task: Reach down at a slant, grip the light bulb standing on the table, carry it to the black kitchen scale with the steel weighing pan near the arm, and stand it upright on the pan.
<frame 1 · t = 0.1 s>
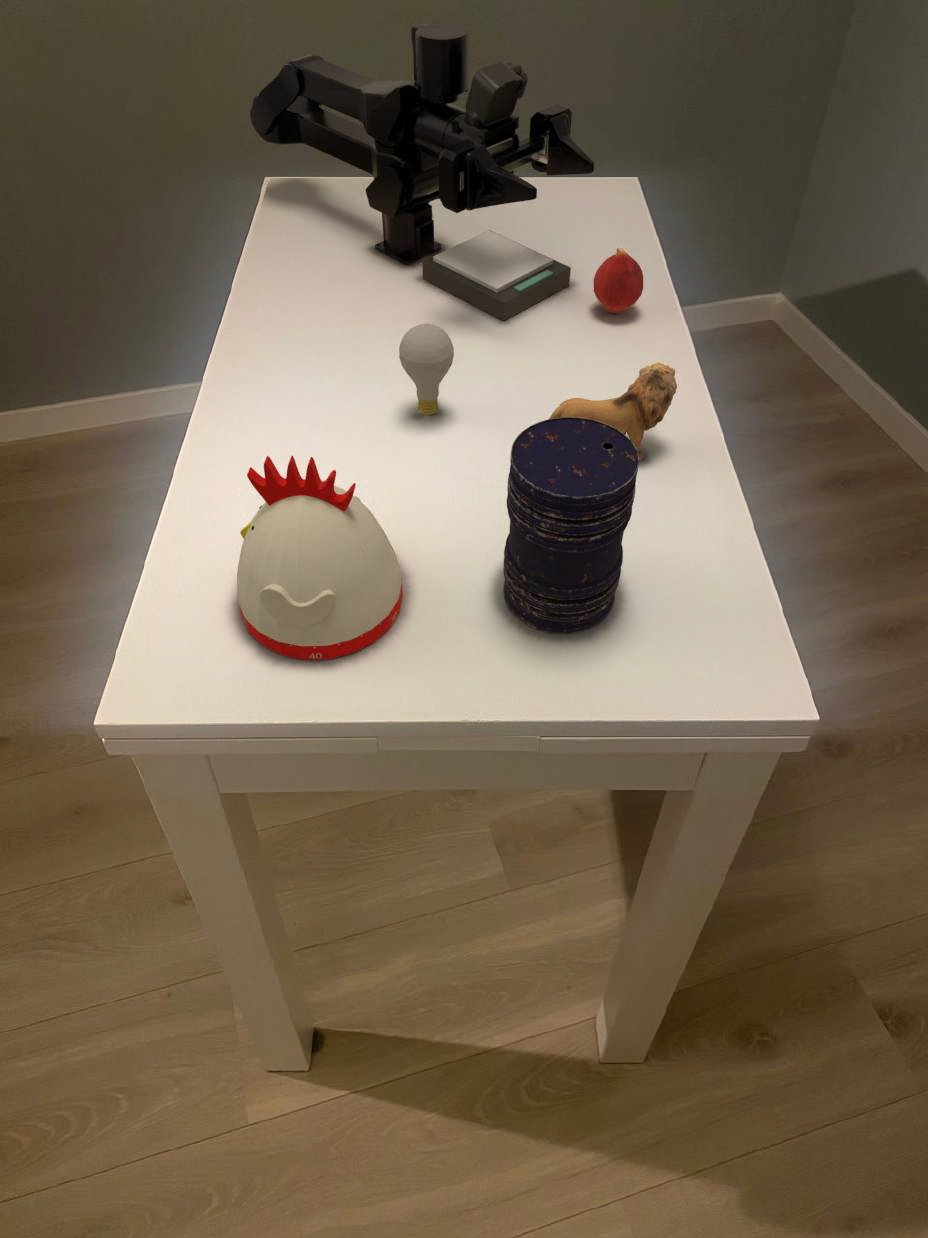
hand: (565, 180, 98), 17 cm above the table, tool horizontal, fingers open, 9 cm apart
rusty blue oil drum: (558, 594, 81), on the table
kitchen timer: (322, 599, 81), on the table
light bulb: (428, 414, 99), on the table
lion figurine: (601, 452, 95), on the table
kitchen scale: (495, 282, 117), on the table
onion: (614, 313, 113), on the table
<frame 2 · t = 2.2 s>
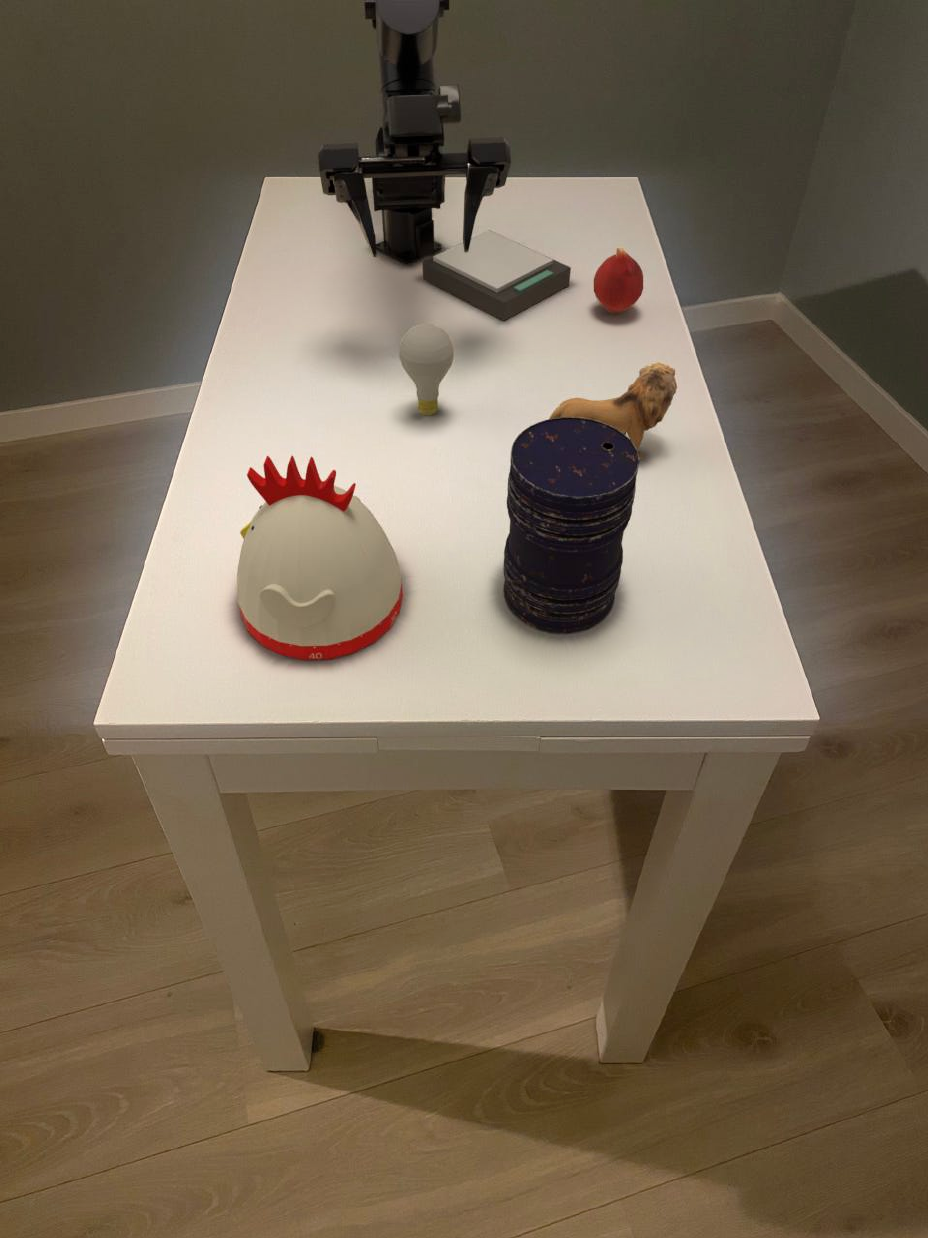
hand: (421, 253, 93), 14 cm above the table, tool tilted 45°, fingers open, 9 cm apart
nothing on the table moved.
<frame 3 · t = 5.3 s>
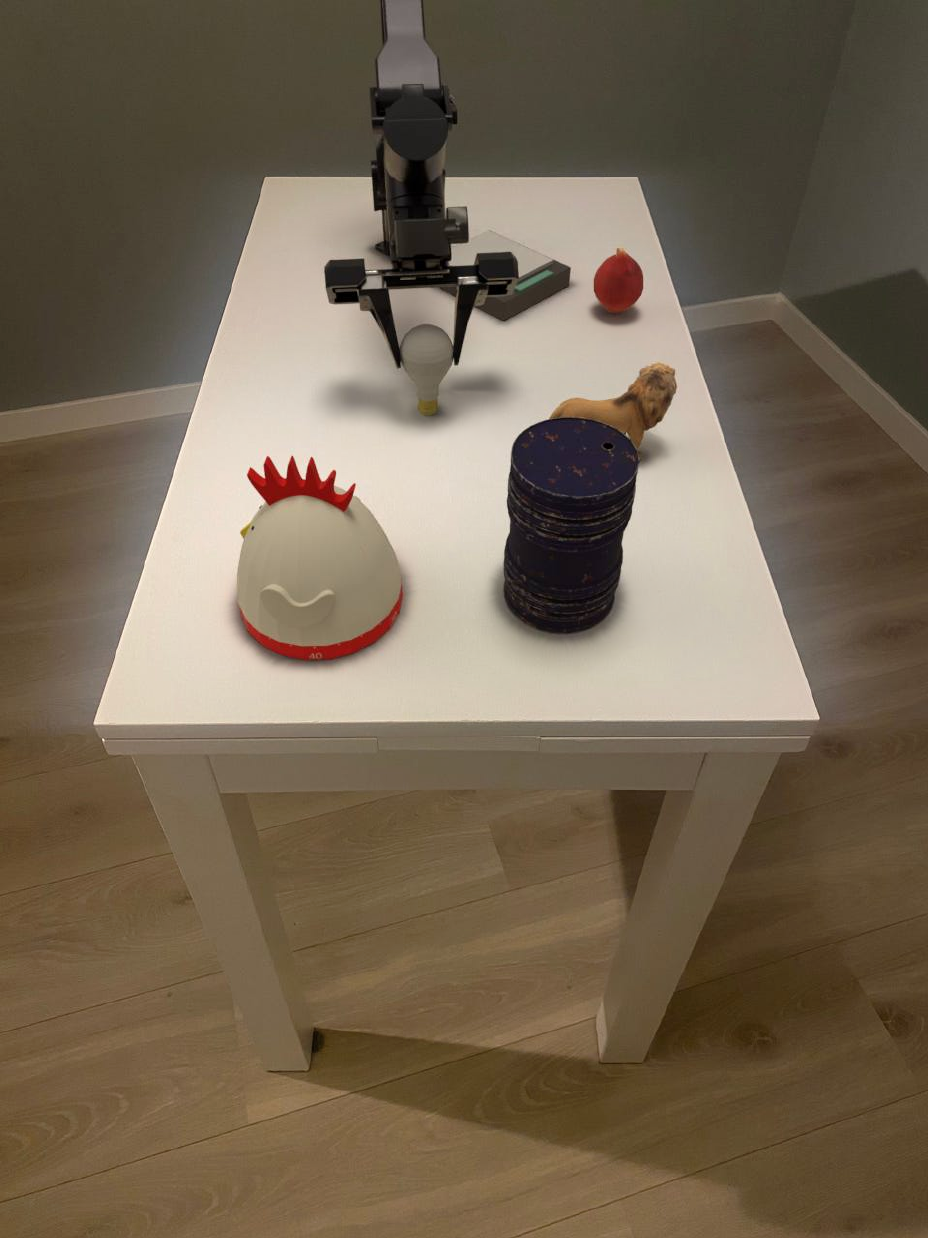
hand: (427, 366, 93), 7 cm above the table, tool tilted 45°, fingers closed on light bulb, 5 cm apart
light bulb: (428, 414, 99), on the table, touching gripper
everything else where it was.
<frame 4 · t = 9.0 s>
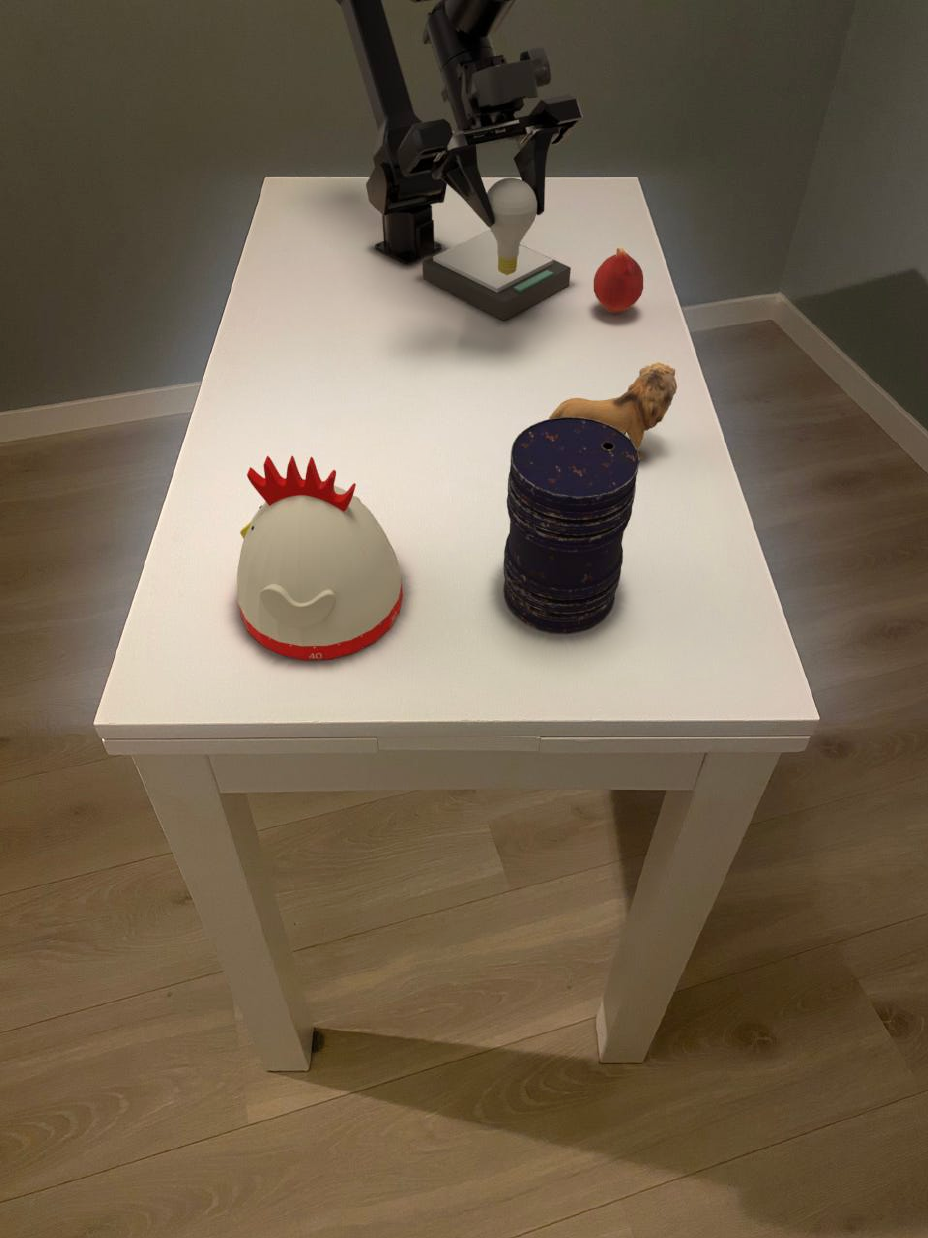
hand: (516, 219, 95), 15 cm above the table, tool tilted 45°, fingers closed on light bulb, 5 cm apart
light bulb: (506, 275, 101), point 9 cm above the table, touching gripper
everything else where it was.
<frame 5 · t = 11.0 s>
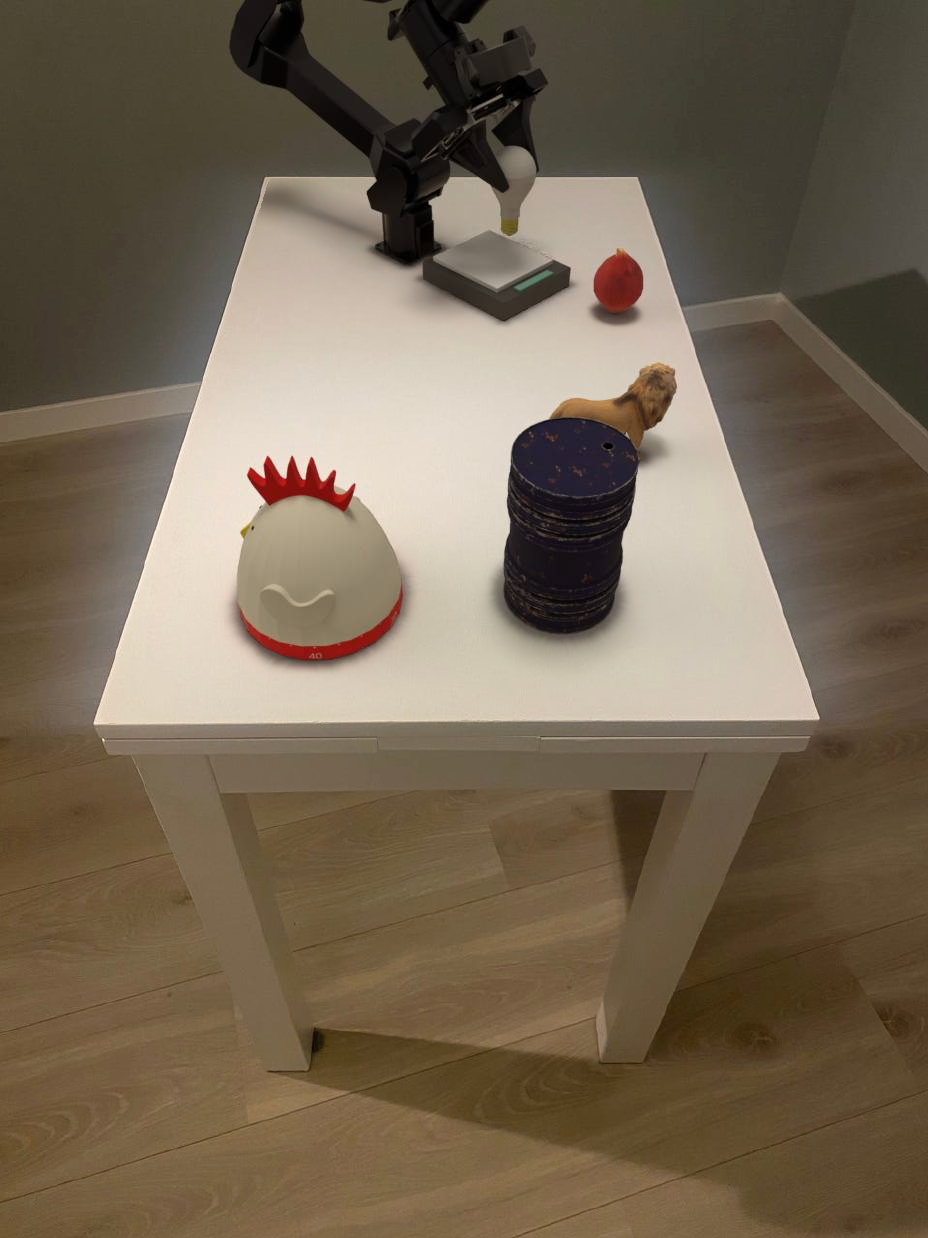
hand: (521, 182, 106), 13 cm above the table, tool tilted 45°, fingers closed on light bulb, 5 cm apart
light bulb: (508, 236, 111), point 7 cm above the table, touching gripper
everything else where it was.
when the fingers open (10 cm above the table, at t = 12.7 s): light bulb stays where it is, resting on kitchen scale.
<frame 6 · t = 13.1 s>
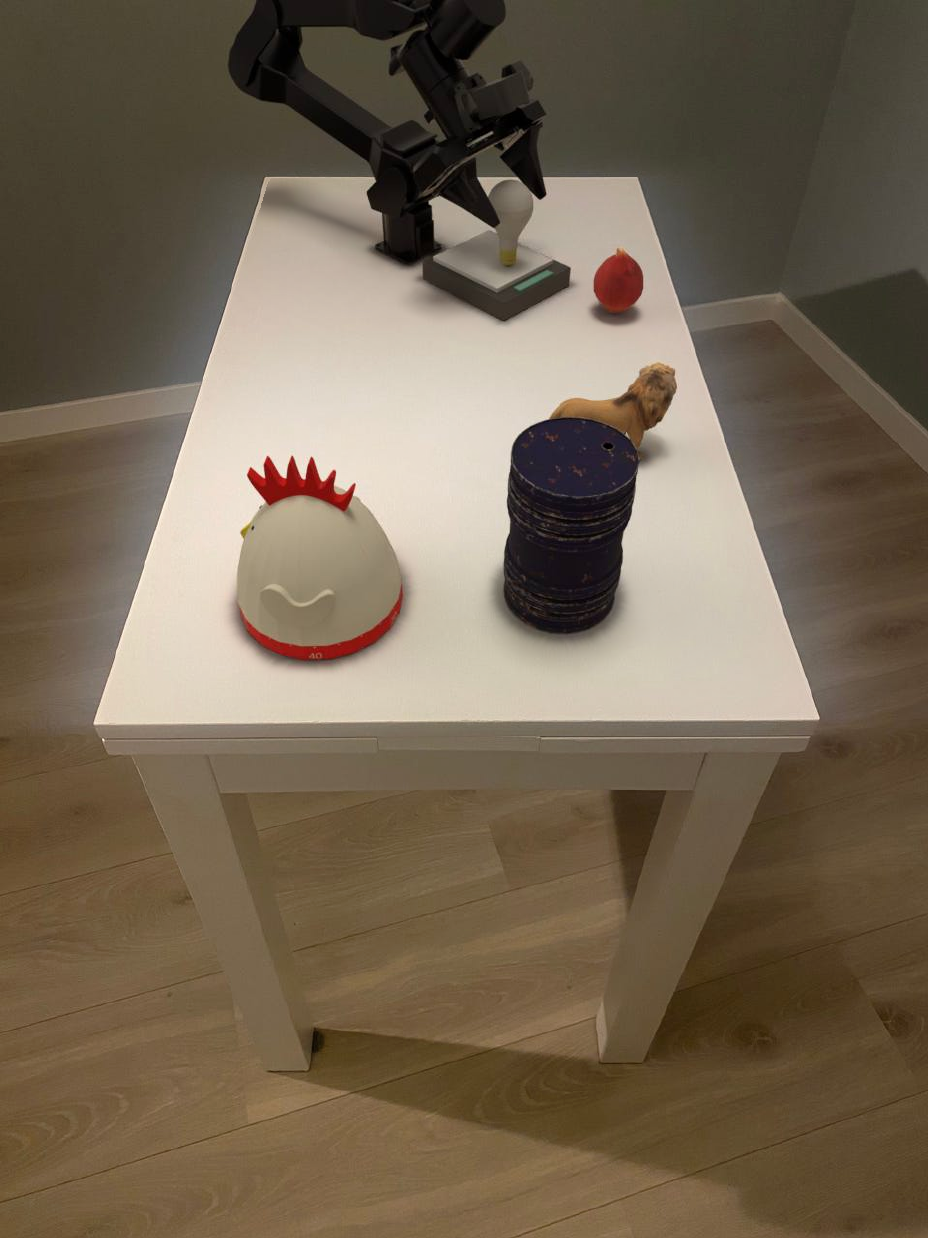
hand: (520, 211, 108), 10 cm above the table, tool tilted 45°, fingers open, 9 cm apart
light bulb: (507, 266, 114), point 3 cm above the table, touching kitchen scale
everything else where it was.
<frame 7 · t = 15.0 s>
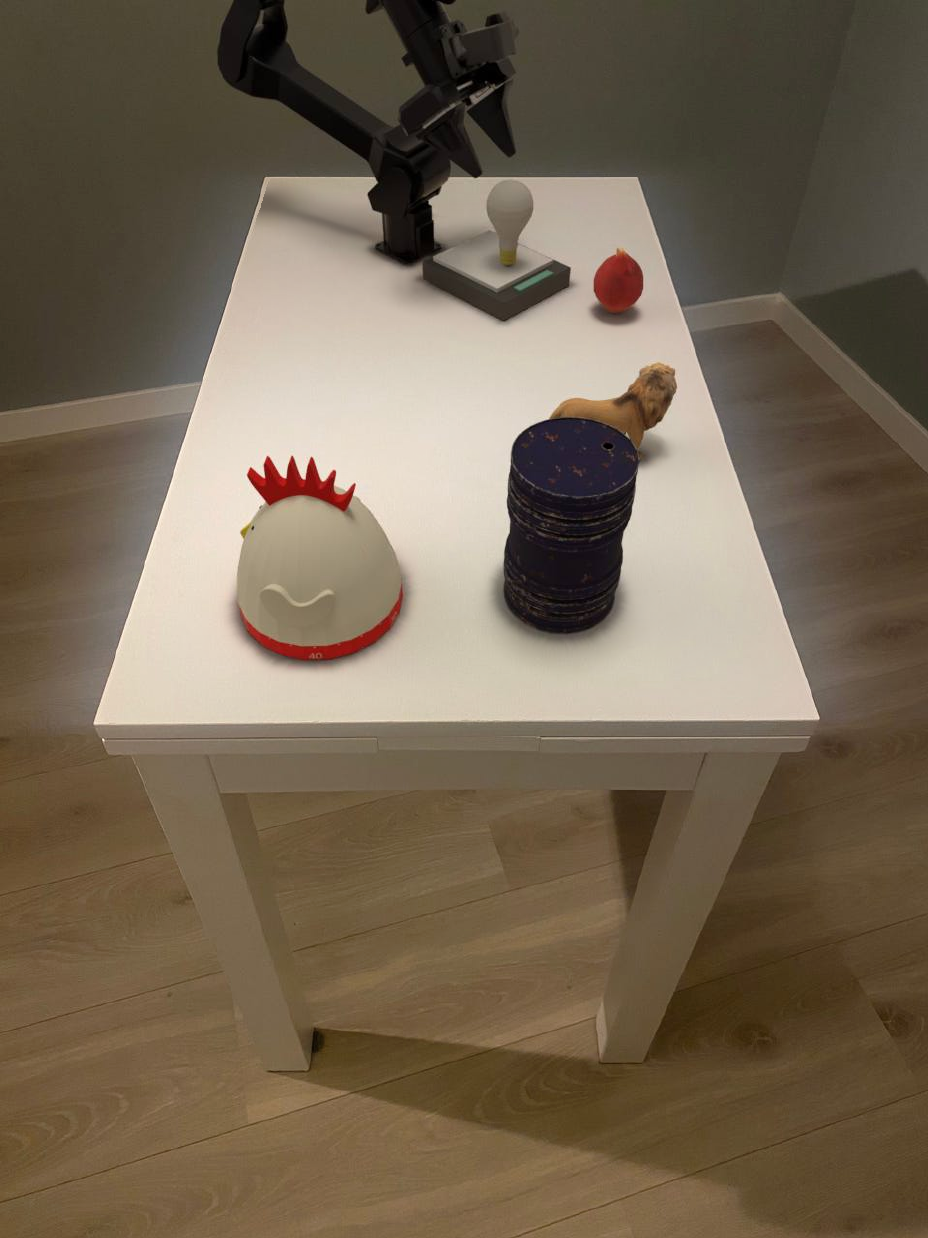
hand: (496, 165, 108), 14 cm above the table, tool tilted 40°, fingers open, 9 cm apart
nothing on the table moved.
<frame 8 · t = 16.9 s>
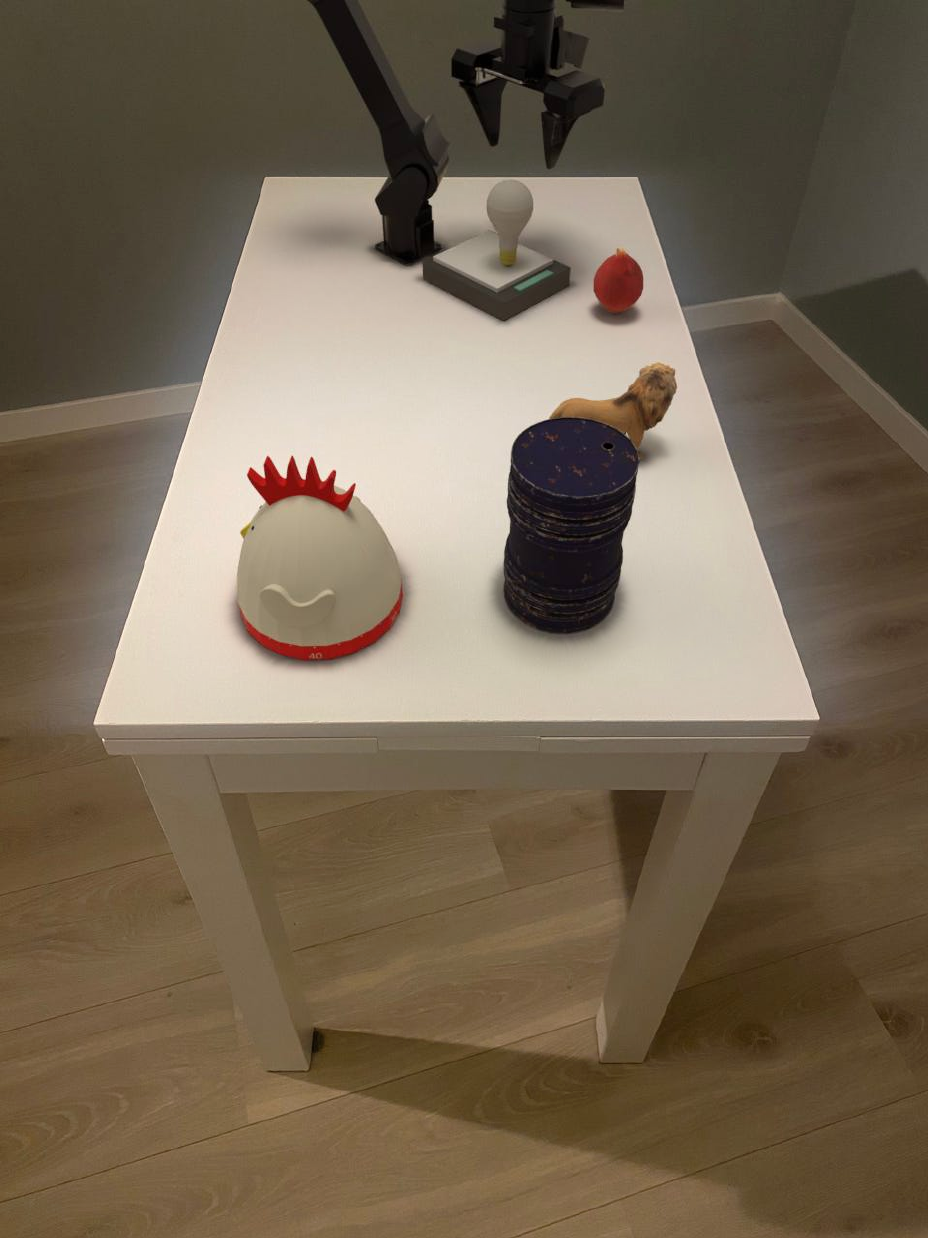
hand: (521, 156, 111), 13 cm above the table, tool pointing down, fingers open, 9 cm apart
nothing on the table moved.
at the end: light bulb inside the target area on the kitchen scale (2.2 cm from its centre), point 2.8 cm above the kitchen scale's base; light bulb tilted 0°; the gripper is holding nothing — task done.
